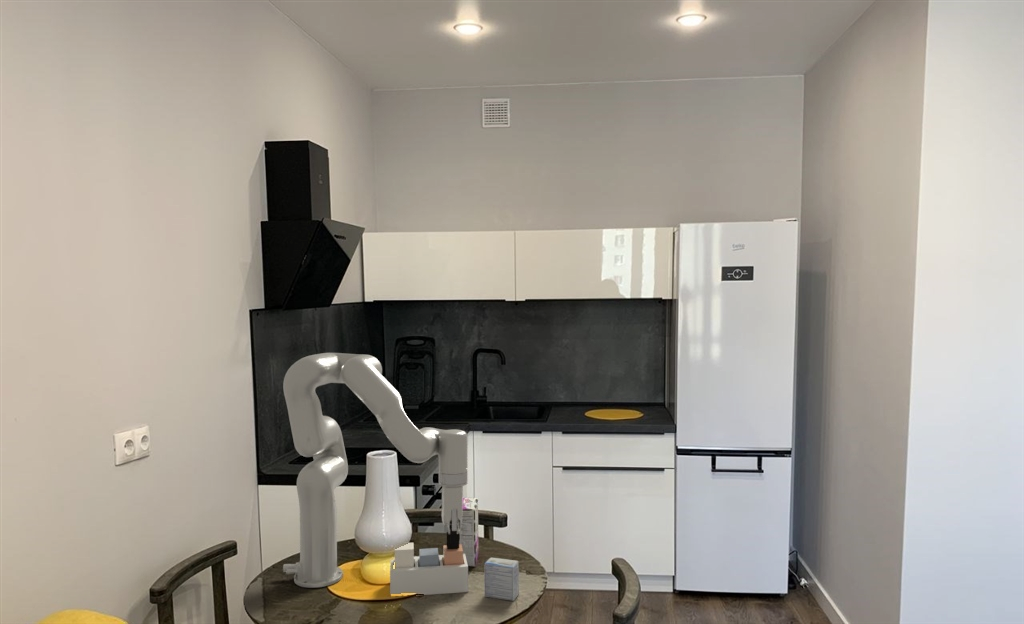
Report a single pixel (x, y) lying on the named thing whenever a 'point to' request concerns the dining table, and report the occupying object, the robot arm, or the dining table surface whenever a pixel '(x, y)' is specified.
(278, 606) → the dining table surface
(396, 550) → the ivory key
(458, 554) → the terracotta key
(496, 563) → the medicine box
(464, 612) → the dining table surface
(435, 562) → the slate key
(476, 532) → the candy bar box
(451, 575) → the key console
